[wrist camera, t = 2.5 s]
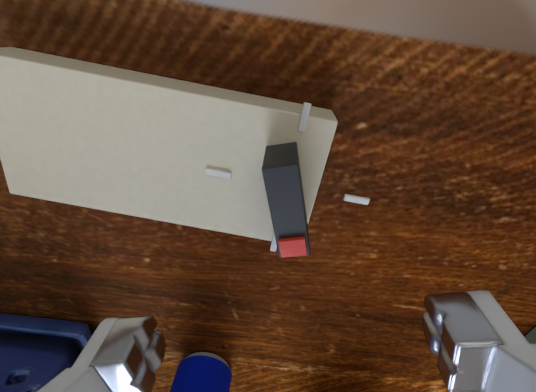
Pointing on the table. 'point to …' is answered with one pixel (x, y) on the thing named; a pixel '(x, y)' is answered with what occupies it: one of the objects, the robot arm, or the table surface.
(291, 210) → the dark grey red-tipped block
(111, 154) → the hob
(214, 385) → the beverage can
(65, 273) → the table surface
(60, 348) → the flower pot
